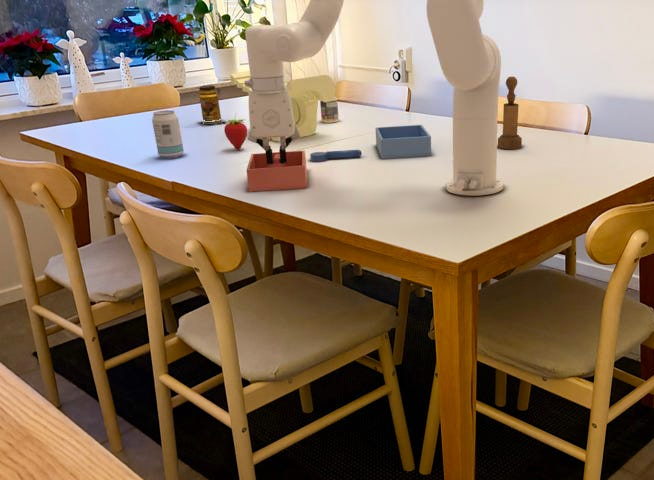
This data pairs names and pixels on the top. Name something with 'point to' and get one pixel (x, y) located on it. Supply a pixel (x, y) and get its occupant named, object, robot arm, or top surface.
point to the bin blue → (403, 141)
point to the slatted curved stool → (299, 98)
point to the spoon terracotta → (276, 162)
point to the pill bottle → (329, 111)
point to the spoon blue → (334, 155)
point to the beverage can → (167, 134)
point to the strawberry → (236, 132)
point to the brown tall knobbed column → (510, 119)
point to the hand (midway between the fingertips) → (277, 165)
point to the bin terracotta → (277, 172)
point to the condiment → (209, 104)
